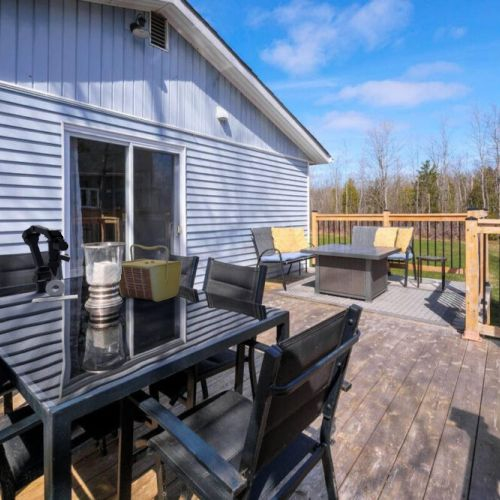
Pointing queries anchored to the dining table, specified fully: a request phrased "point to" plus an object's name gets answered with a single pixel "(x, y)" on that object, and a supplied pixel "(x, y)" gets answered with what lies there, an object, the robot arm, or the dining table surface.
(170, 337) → the dining table surface
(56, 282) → the donut
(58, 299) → the placemat
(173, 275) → the picnic basket
